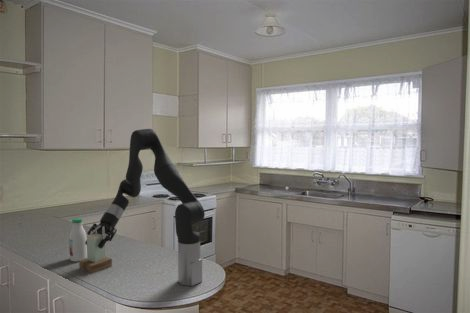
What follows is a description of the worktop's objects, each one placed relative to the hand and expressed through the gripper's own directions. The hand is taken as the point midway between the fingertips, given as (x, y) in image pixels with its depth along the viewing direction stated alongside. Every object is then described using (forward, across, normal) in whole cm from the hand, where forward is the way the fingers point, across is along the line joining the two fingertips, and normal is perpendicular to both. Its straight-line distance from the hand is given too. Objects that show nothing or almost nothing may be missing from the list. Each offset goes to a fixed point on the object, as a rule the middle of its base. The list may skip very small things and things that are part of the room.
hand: (93, 246), depth 160 cm
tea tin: (+4, 0, +6) cm, 7 cm away
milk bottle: (+5, -16, +10) cm, 19 cm away
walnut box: (+7, 0, +8) cm, 11 cm away
